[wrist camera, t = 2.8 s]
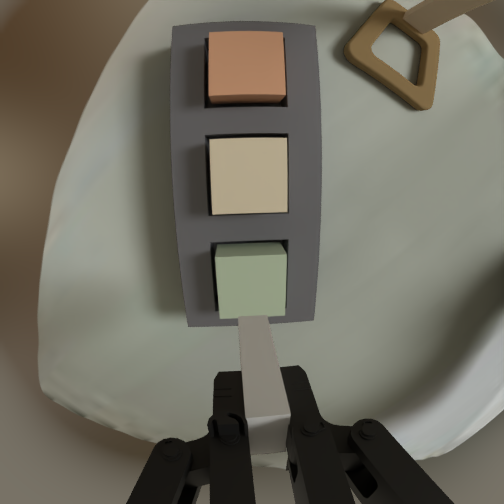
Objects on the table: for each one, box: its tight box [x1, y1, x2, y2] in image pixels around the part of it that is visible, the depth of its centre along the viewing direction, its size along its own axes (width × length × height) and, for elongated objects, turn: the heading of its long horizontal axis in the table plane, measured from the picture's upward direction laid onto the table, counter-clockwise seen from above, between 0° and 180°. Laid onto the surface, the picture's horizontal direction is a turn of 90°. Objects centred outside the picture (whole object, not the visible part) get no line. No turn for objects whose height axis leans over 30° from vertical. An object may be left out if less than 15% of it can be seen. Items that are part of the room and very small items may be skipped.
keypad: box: [170, 21, 322, 327], centre depth 22 cm, size 25×11×4 cm, turn 1°
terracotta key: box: [209, 31, 286, 104], centre depth 17 cm, size 5×5×3 cm
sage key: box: [215, 242, 287, 319], centre depth 22 cm, size 5×5×3 cm
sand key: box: [209, 138, 287, 215], centre depth 19 cm, size 5×5×3 cm
